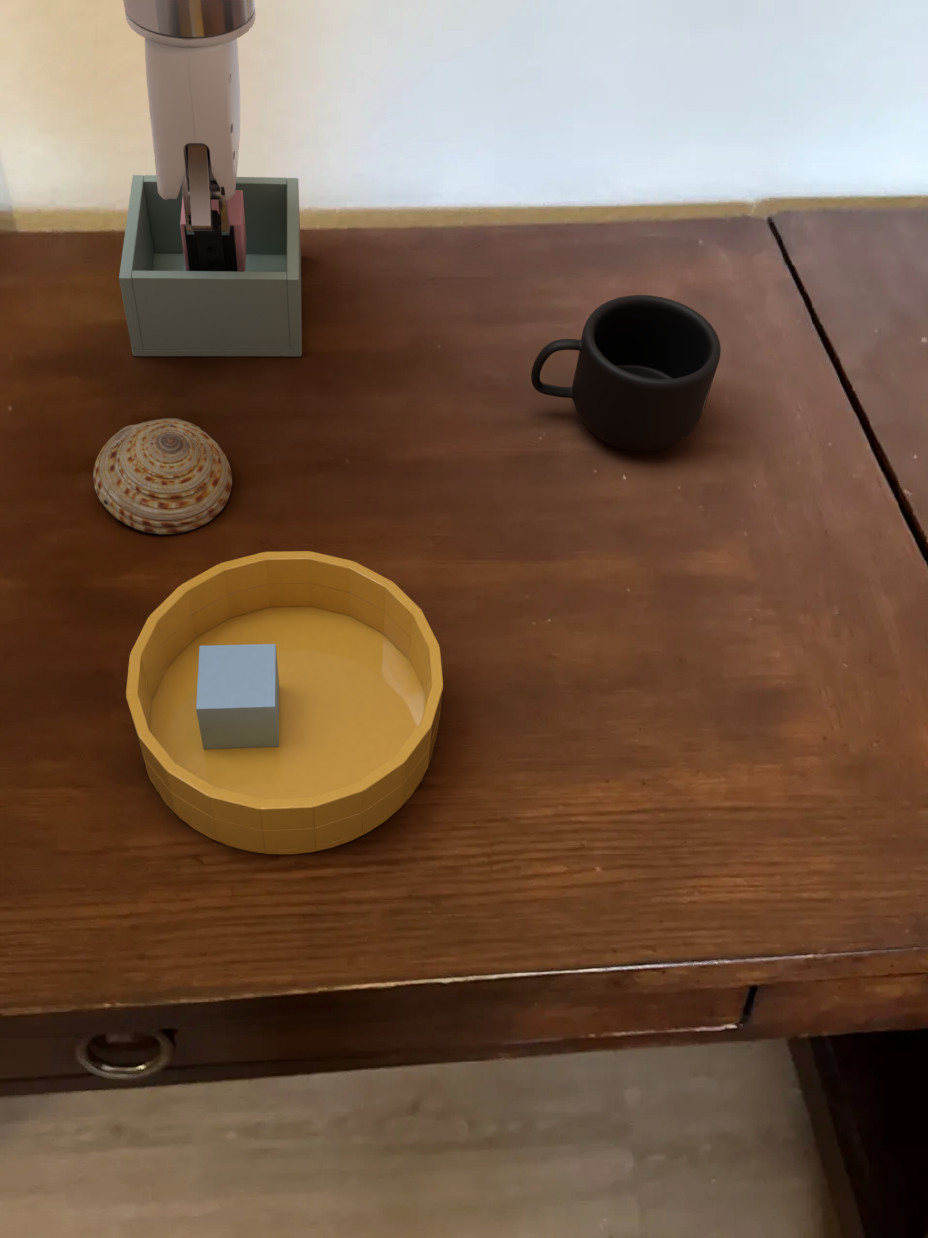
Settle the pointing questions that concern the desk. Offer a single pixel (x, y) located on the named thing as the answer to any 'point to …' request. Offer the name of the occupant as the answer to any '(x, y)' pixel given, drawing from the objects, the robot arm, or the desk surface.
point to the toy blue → (238, 696)
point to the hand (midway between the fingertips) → (215, 253)
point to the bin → (213, 278)
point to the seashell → (162, 476)
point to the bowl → (291, 701)
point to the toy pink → (234, 220)
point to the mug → (639, 371)
